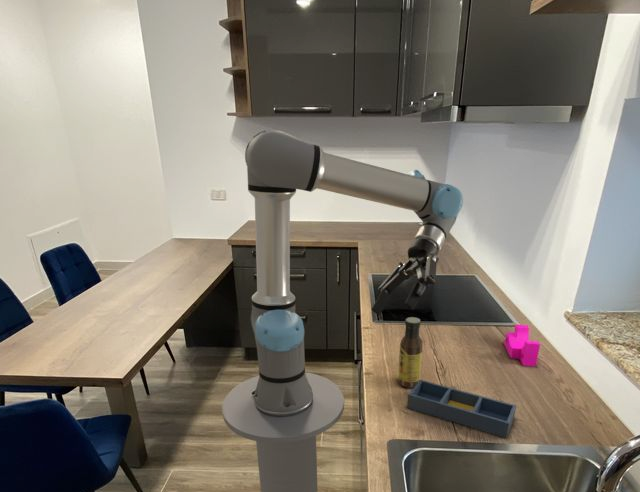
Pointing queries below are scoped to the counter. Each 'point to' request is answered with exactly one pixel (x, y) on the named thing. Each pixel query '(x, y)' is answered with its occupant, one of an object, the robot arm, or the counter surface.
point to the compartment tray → (462, 407)
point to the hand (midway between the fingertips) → (391, 309)
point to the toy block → (522, 346)
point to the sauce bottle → (410, 354)
